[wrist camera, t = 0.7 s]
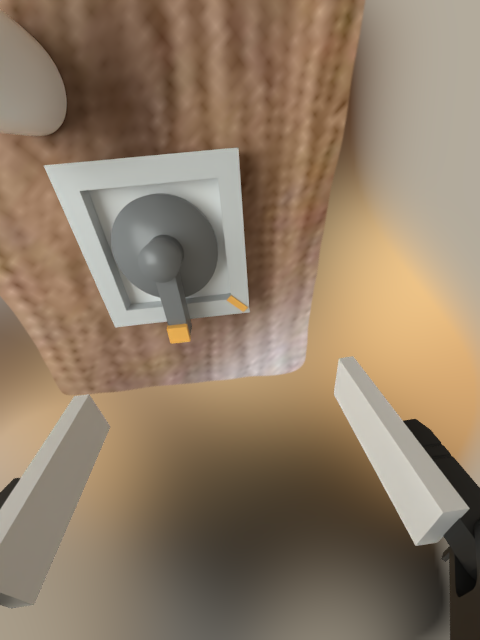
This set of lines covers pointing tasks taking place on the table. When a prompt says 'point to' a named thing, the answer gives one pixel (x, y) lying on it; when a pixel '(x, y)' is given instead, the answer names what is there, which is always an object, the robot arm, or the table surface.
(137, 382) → the table surface
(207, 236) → the dial
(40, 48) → the candle holder
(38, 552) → the robot arm
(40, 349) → the table surface
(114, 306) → the dial panel
